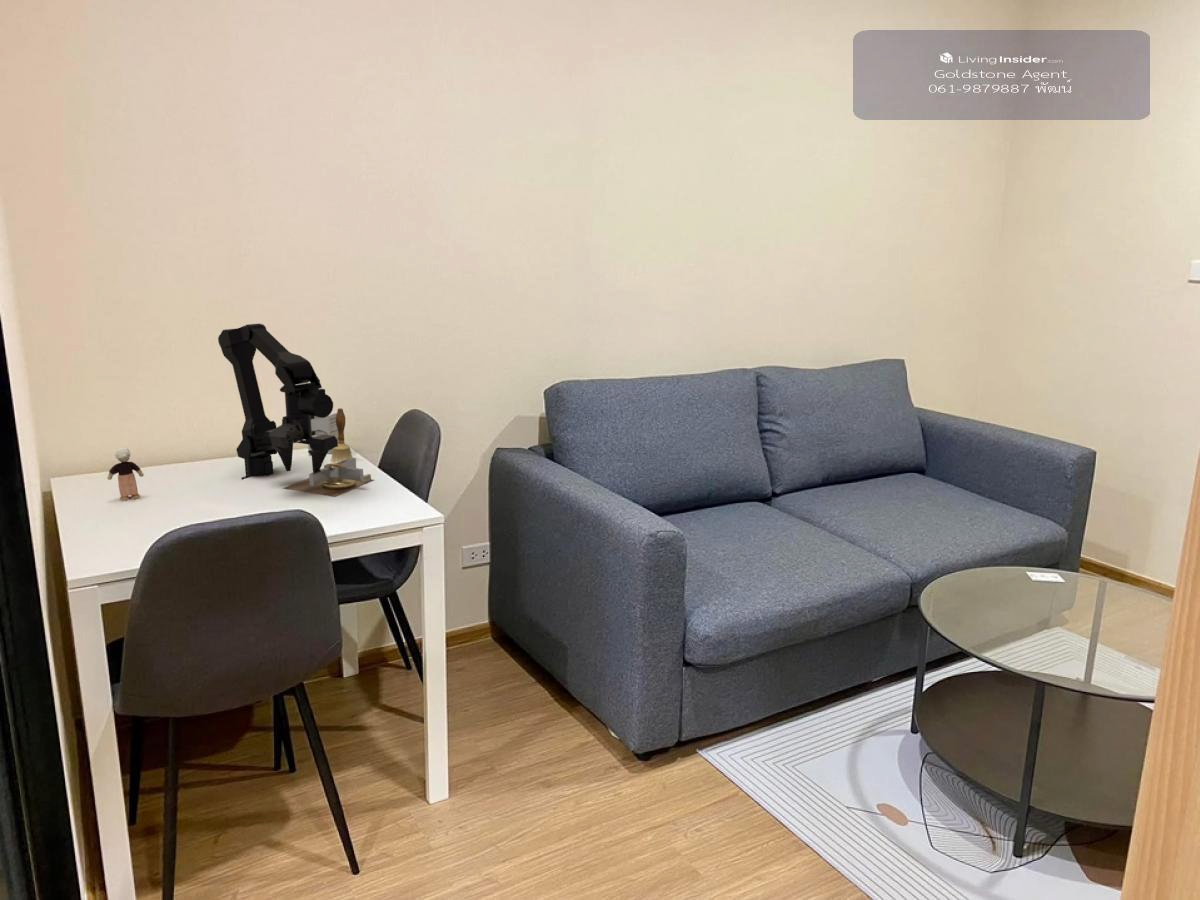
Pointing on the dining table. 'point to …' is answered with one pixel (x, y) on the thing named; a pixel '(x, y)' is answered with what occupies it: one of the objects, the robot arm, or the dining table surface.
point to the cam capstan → (337, 475)
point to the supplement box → (325, 427)
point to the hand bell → (340, 440)
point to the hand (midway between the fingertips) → (302, 473)
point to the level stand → (319, 489)
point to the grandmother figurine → (125, 474)
